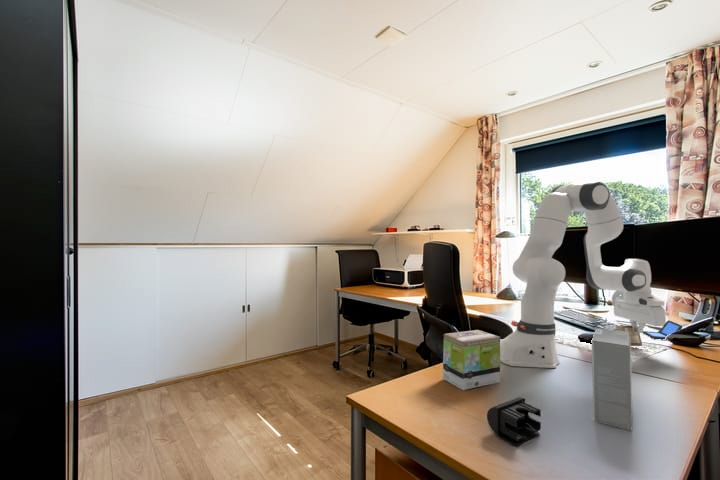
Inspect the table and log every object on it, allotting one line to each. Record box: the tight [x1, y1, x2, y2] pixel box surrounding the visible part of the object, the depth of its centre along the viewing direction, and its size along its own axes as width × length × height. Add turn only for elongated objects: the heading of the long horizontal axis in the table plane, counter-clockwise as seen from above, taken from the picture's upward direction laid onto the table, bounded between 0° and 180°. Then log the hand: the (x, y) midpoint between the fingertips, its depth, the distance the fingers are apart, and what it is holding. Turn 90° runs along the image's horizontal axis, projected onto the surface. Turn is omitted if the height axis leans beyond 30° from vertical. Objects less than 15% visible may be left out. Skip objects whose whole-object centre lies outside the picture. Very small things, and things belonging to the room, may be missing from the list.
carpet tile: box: [555, 327, 667, 363], centre depth 146 cm, size 39×30×2 cm
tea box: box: [442, 329, 501, 391], centre depth 104 cm, size 15×10×15 cm, turn 115°
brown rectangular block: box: [615, 325, 643, 346], centre depth 137 cm, size 7×3×8 cm, turn 95°
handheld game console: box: [642, 320, 683, 340], centre depth 155 cm, size 12×11×7 cm
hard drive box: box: [591, 327, 633, 432], centre depth 84 cm, size 16×8×20 cm, turn 141°
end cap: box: [486, 396, 542, 448], centre depth 75 cm, size 10×7×7 cm
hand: (637, 332), depth 134 cm, fingers closed
